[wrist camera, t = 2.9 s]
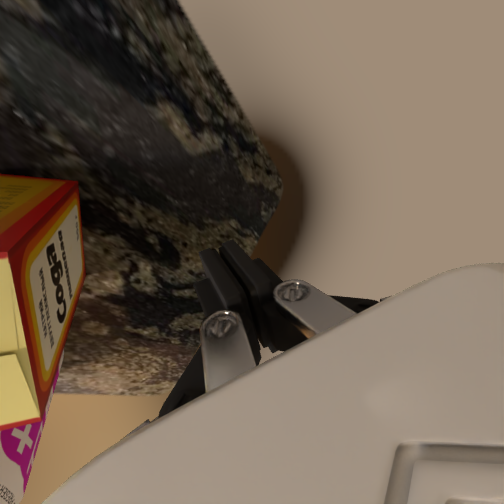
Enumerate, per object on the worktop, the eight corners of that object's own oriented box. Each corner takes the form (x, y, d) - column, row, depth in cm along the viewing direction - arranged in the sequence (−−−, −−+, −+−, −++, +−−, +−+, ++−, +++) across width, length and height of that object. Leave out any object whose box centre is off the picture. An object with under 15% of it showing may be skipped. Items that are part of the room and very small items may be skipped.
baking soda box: (-23, 171, 20) (-339, 259, 6) (78, 181, 22) (3, 256, 9) (1, 278, 23) (-172, 479, 10) (85, 275, 26) (39, 428, 13)
